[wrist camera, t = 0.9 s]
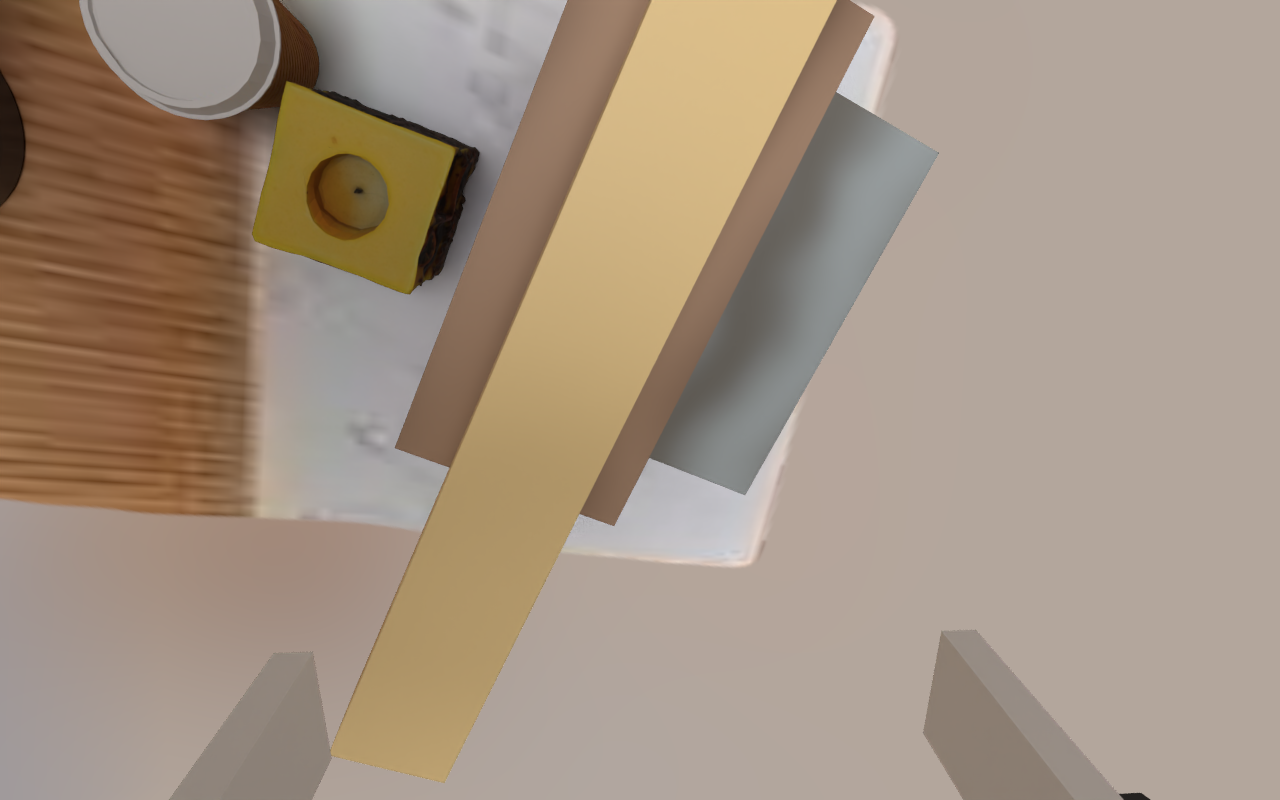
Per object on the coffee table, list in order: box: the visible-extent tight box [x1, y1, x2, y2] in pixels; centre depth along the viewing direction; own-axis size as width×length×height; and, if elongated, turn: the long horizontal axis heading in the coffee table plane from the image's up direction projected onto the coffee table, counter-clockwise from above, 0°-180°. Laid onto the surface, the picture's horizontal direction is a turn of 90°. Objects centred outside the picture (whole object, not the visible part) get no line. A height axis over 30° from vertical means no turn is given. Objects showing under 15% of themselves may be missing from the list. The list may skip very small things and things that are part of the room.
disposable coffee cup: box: [79, 0, 319, 120], centre depth 39 cm, size 10×10×12 cm
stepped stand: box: [395, 0, 939, 526], centre depth 36 cm, size 16×18×32 cm
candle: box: [252, 81, 480, 294], centre depth 43 cm, size 10×10×10 cm
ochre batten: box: [330, 0, 837, 783], centre depth 20 cm, size 4×28×3 cm, turn 154°
